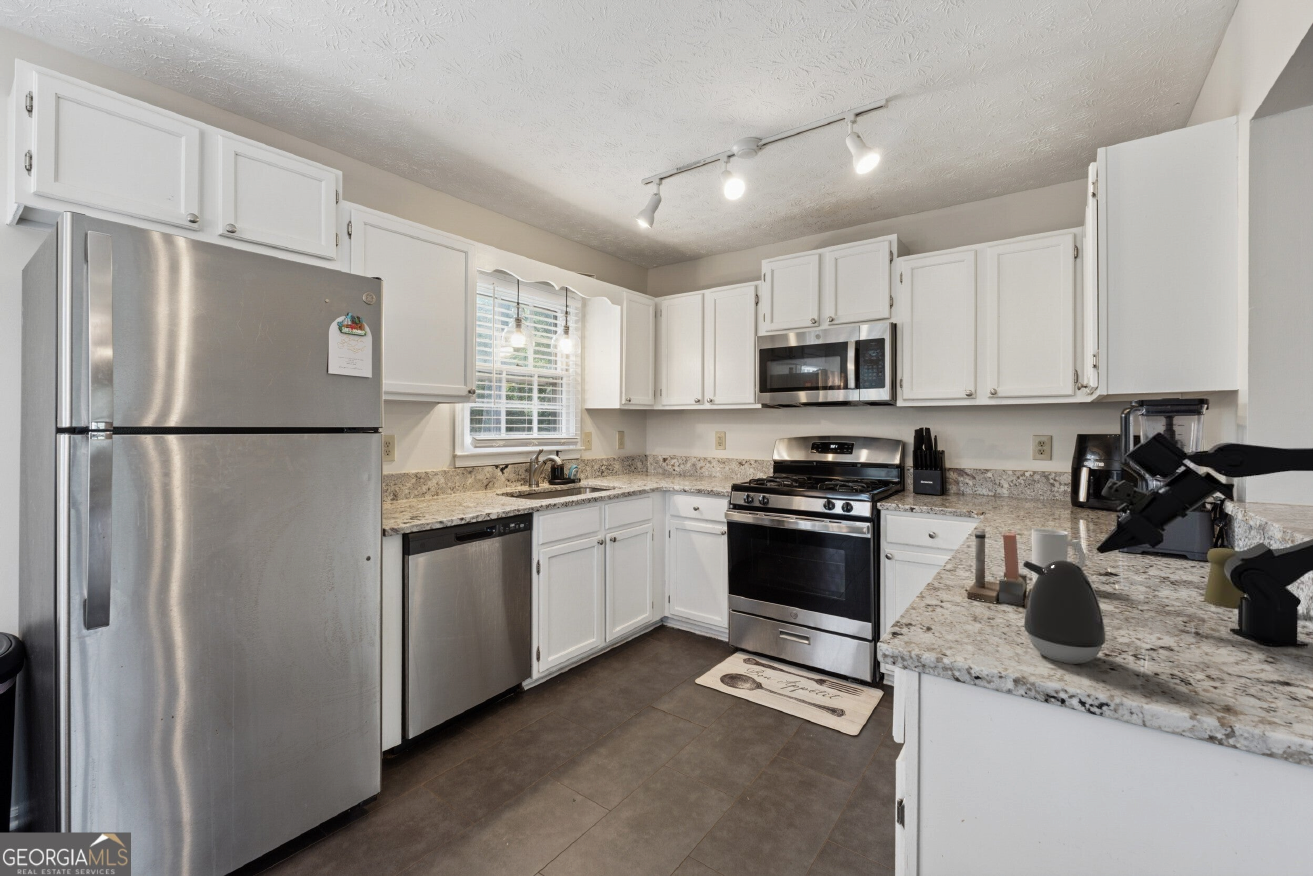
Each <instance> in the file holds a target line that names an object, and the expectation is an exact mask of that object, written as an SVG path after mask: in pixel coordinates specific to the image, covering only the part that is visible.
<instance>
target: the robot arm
mask: <svg viewBox="0 0 1313 876" xmlns="http://www.w3.org/2000/svg"><path fill="white" fill-rule="evenodd" d="M1123 457H1124V458H1125V459H1126V460H1128V461H1129V462H1130V463H1131V464H1133V465H1134V466H1135V467H1137V468H1138V469H1139V470H1141V471H1142V472H1143V473H1145V474H1146V475H1147V476H1148V477H1150V478H1152V479H1154V478H1156V477H1159V478H1162V480H1163V479H1164V480H1165V479H1167V478H1168V477H1169V476H1171V475H1172V474H1174V473H1175V472H1177V471H1178V470H1179V469H1181V468H1182V467H1183V468H1184V469H1183V470H1181V471H1179V472H1178V473H1177V474H1176V475H1174V476H1173V477H1170V479H1168V480H1167V481H1165V482H1164V483H1162V484H1161V485H1160V486H1158V487H1157V488H1153V487H1151V488H1149V489H1148V490H1146V491H1144V490H1141V489H1139V488H1137V487H1134V486H1135V485H1134V483H1132V482H1129V481H1126V480H1121V481H1118V480H1116V479H1113V478H1109V480H1108V481H1107V483H1106V485H1105V486H1104V488H1103V490H1102V491H1101V495H1102V497H1106V498H1108V499H1114V500H1116V501H1119V502H1120V503H1122V504H1121V505H1120V506H1118V507H1117V511H1118V512H1120V513H1122V514H1123V515H1122V516H1120V515H1119V514H1118V513H1116V514H1115V527H1113V529H1112V530H1111V531H1110V532H1109V533H1108V535H1107V536H1106V537H1105V538H1104V539H1103V540H1102V541H1101V542H1100V543H1099V545H1098V546H1097V547H1096V551H1097V552H1098V553H1100V555H1101V554H1106V553H1109V552H1114V551H1120V550H1123V549H1129V548H1134V547H1138V546H1139V547H1140V546H1143V545H1144V546H1146V545H1148V546H1150V548H1152V549H1154V548H1156V547H1157V546H1159V545H1161V544H1162V543H1164V532H1165V531H1166V530H1167V529H1166V528H1167V527H1168V526H1170V525H1172V524H1173V523H1175V522H1176V521H1177V520H1179V519H1180V518H1182V519H1184V518H1186V517H1188V516H1189V512H1191V511H1192V510H1194V509H1195V508H1197V507H1198V506H1200V505H1201V504H1202V503H1204V502H1205V501H1207V500H1209V499H1210V498H1212V497H1213V496H1214V495H1216V494H1217V493H1219V494H1220V495H1221V496H1223V498H1225V499H1228V500H1229V501H1232V500H1234V498H1235V496H1234V488H1235V484H1234V483H1233V482H1223V481H1221V480H1220V479H1219V478H1217V477H1216V476H1214V475H1213V474H1212V473H1210V472H1209V471H1208V470H1207V471H1204V472H1202V473H1199V472H1198V471H1196V470H1195V469H1193V467H1191V466H1189V465H1188V464H1186V462H1185V460H1187V461H1188V462H1189V463H1191V464H1193V465H1195V466H1197V467H1203V468H1207V469H1208V468H1209V469H1210V470H1212V471H1213V472H1214V473H1216V474H1219V475H1220V476H1223V477H1225V478H1234V479H1236V478H1247V477H1256V476H1264V475H1270V474H1276V473H1283V472H1313V447H1299V448H1298V447H1293V448H1291V447H1290V448H1285V447H1274V446H1265V445H1255V444H1247V443H1236V442H1222V443H1218V444H1215V445H1214V446H1211V448H1209V449H1208V450H1199V451H1195V450H1191V451H1190V452H1189V451H1188V452H1186V451H1184V450H1183V449H1182V448H1181V447H1180V446H1178V445H1176V444H1175V443H1173V442H1172V441H1171V440H1170V439H1169V438H1168V437H1167V436H1166V435H1165V434H1164V433H1162V432H1161V431H1160V432H1159V431H1157V432H1156V433H1154V434H1153V435H1152V436H1150V437H1149V438H1147V439H1146V440H1145V441H1143V442H1139V443H1138V444H1137V445H1136V446H1134V448H1132V449H1131V450H1129V451H1128V452H1127V453H1126V454H1125V455H1124V456H1123ZM1234 553H1235V554H1236V556H1233V557H1231V558H1229V559H1228V560H1227V561H1226V563H1225V566H1224V571H1225V574H1226V576H1227V578H1228V579H1229V580H1230V582H1231V583H1232V584H1233V585H1234V586H1235V587H1236V588H1237V589H1238V590H1239V591H1241V592H1243V594H1244V595H1245V597H1240V604H1239V605H1238V609H1237V613H1238V614H1237V628H1233V627H1232V628H1229V632H1231V633H1233V634H1236V635H1238V636H1240V637H1243V638H1246V639H1248V640H1251V641H1253V642H1256V643H1259V644H1262V645H1265V646H1269V647H1270V646H1271V647H1275V646H1277V647H1278V646H1279V647H1309V643H1308V642H1306V641H1304V640H1300V639H1298V630H1299V629H1298V627H1299V625H1298V621H1299V617H1298V616H1299V612H1298V611H1299V609H1298V608H1299V606H1300V604H1302V600H1301V598H1299V597H1298V596H1297V595H1296V594H1295V593H1294V592H1293V591H1292V590H1290V589H1289V588H1288V587H1289V586H1291V585H1293V584H1294V583H1295V582H1297V581H1298V580H1300V579H1301V578H1302V577H1304V576H1306V575H1307V574H1308V573H1311V572H1313V538H1310V539H1308V540H1305V541H1303V542H1299V543H1297V544H1294V545H1291V546H1288V547H1281V548H1273V549H1272V548H1270V547H1269V546H1268V545H1267V544H1265V542H1259V543H1257V544H1255V545H1254V546H1251V547H1250V548H1247V549H1243V550H1236V551H1234Z"/></svg>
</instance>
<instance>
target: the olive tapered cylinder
mask: <svg viewBox="0 0 1313 876" xmlns="http://www.w3.org/2000/svg"><path fill="white" fill-rule="evenodd" d="M1234 551H1237V550H1235V549H1232V548H1226V547H1218V548H1217V547H1216V548H1214V547H1213V548H1211V549H1209V551H1208V552H1207V555H1206V557H1207V561H1208V562H1209V563H1210V568H1209V573H1208V577H1207V582H1206V588H1205V591H1204V598H1203V602H1204V603H1206V602H1207V603H1206V604H1209V605H1212V604H1214V605H1213V606H1216V607H1222V608H1225V609H1227V608H1229V609H1237V610H1238V605H1239V604H1240V597H1246V595H1244V594H1243V592H1241V591H1239V590H1238V589H1237V588H1236V587H1235V586H1234V585H1233V584H1232V583H1231V582H1230V580H1229V579H1228V578H1227V576H1226V574H1225V571H1224V566H1225V563H1226V561H1227V560H1228V559H1229V558H1231V557H1233V556H1236V554H1235V553H1234Z"/></svg>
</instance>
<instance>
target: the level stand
mask: <svg viewBox="0 0 1313 876" xmlns="http://www.w3.org/2000/svg"><path fill="white" fill-rule="evenodd" d="M974 531H975V533H974V539H975V542H974V543H975V545H974V546H975V549H974V550H975V551H974V553H975V555H974V556H975V557H974V558H975V559H974V560H975V562H974V565H975V567H974V568H975V569H974V570H975V572H974V573H975V576H974V578H975V580H974V581H975V582H973V583H972V585H971V586H970V588H969V589H968V590H967V598H974V599H979V600H984V601H989V602H988V603H990V602H996V603H997V601H998V602H999V603H1001V602H1004V603H1003V604H1007V603H1010V604H1009V605H1013V604H1016V605H1015V606H1019V607H1023V605H1024V609H1026V608H1027V603H1028V599H1029V596H1030V593H1031V590H1032V588H1033V587H1029V590H1028V589H1027V588H1028V575H1027V574H1024V573H1019V577H1020V578H1022V579H1023V580H1024V582H1025V584H1026V588H1025V591H1024V593H1023V582H1019V581H1012V580H1005V578H1006V572H1005V571H1004V572H1003V578H999V580H998V582H994V581H987V580H986V538H987V537H986V536H987V534H986V531H985V530H980V529H979V530H977V529H976V530H974ZM1024 598H1025V599H1024ZM997 599H998V600H997ZM984 601H983V602H984Z"/></svg>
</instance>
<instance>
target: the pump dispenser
mask: <svg viewBox="0 0 1313 876" xmlns="http://www.w3.org/2000/svg"><path fill="white" fill-rule="evenodd" d="M1077 565H1078V564H1076V563H1074V562H1073V561H1069V560H1067V561H1065V560H1057V561H1053V562H1051V563H1049V564H1048V565H1046V566H1045V567H1041V566H1038V565H1036V564H1033V563H1032V561H1031V562H1030V561H1028V560H1025V561H1024V562H1023V565H1022V566H1023V567H1024V568H1026V569H1027V570H1030V571H1031V572H1032V571H1033V572H1034V573H1036V574H1038V575H1039V576H1038V578H1037V580H1036V581H1035V583H1033V586H1032V587H1031V588H1032V590H1031V593H1030V596H1029V599H1028V603H1027V608H1025V614H1024V625H1023V626H1024V630H1025V631H1026V633H1027V637H1028V640H1029V641H1030V643H1031V645H1032V646H1033V647H1034V649H1035V650H1036V651H1037V652H1039V653H1040V654H1041V655H1042V656H1044V657H1046V658H1048V659H1050V660H1052V659H1053V661H1055V660H1056V661H1055V662H1059V661H1060V662H1059V663H1063V662H1065V663H1064V664H1069V663H1074V664H1073V665H1075V664H1076V665H1079V663H1080V664H1084V663H1086V664H1087V663H1088V662H1091V661H1093V660H1094V659H1095V658H1096V657H1097V656H1098V655H1099V654H1100V652H1101V650H1102V646H1103V645H1105V643H1106V631H1105V630H1106V629H1105V622H1104V618H1103V612H1102V609H1101V605H1100V602H1099V599H1098V597H1097V593H1096V592H1095V588H1094V587H1093V585H1092V583H1091V581H1090V579H1089V577H1088V576H1087V574H1086V573H1085V571H1084V570H1083V568H1082V569H1081V568H1080V567H1079V566H1077Z"/></svg>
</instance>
